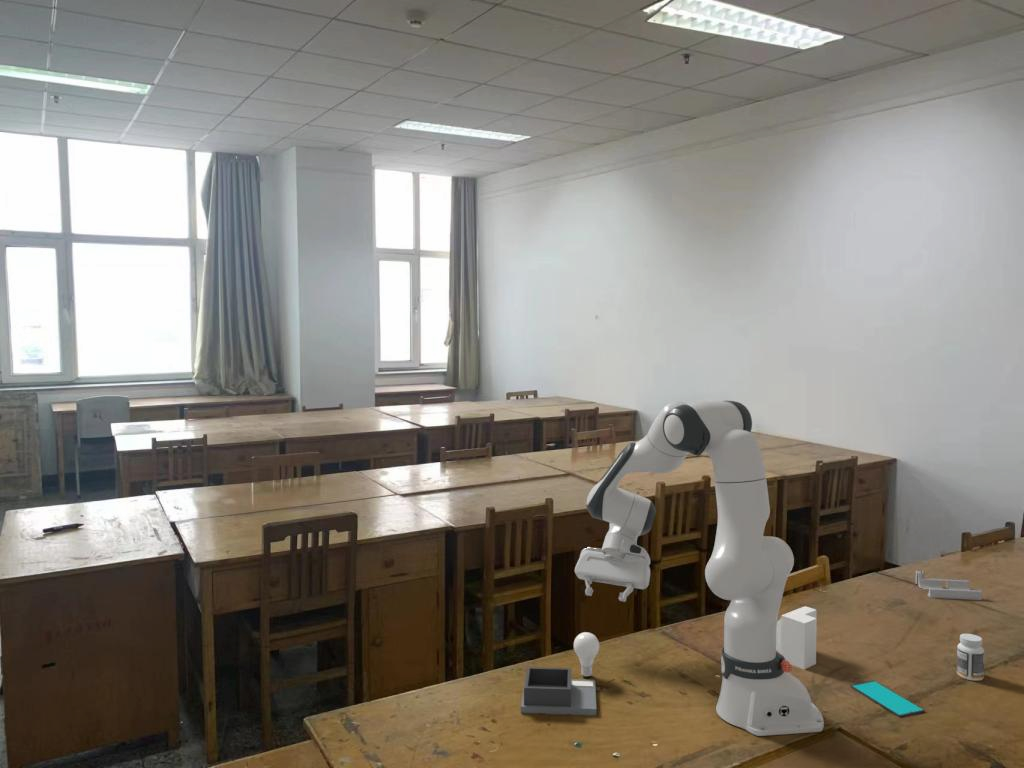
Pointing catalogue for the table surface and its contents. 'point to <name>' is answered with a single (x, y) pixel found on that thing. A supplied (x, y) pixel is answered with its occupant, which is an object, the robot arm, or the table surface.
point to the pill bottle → (970, 657)
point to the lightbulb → (586, 651)
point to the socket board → (557, 692)
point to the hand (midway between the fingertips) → (604, 597)
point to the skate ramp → (954, 591)
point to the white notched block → (798, 637)
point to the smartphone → (887, 699)
